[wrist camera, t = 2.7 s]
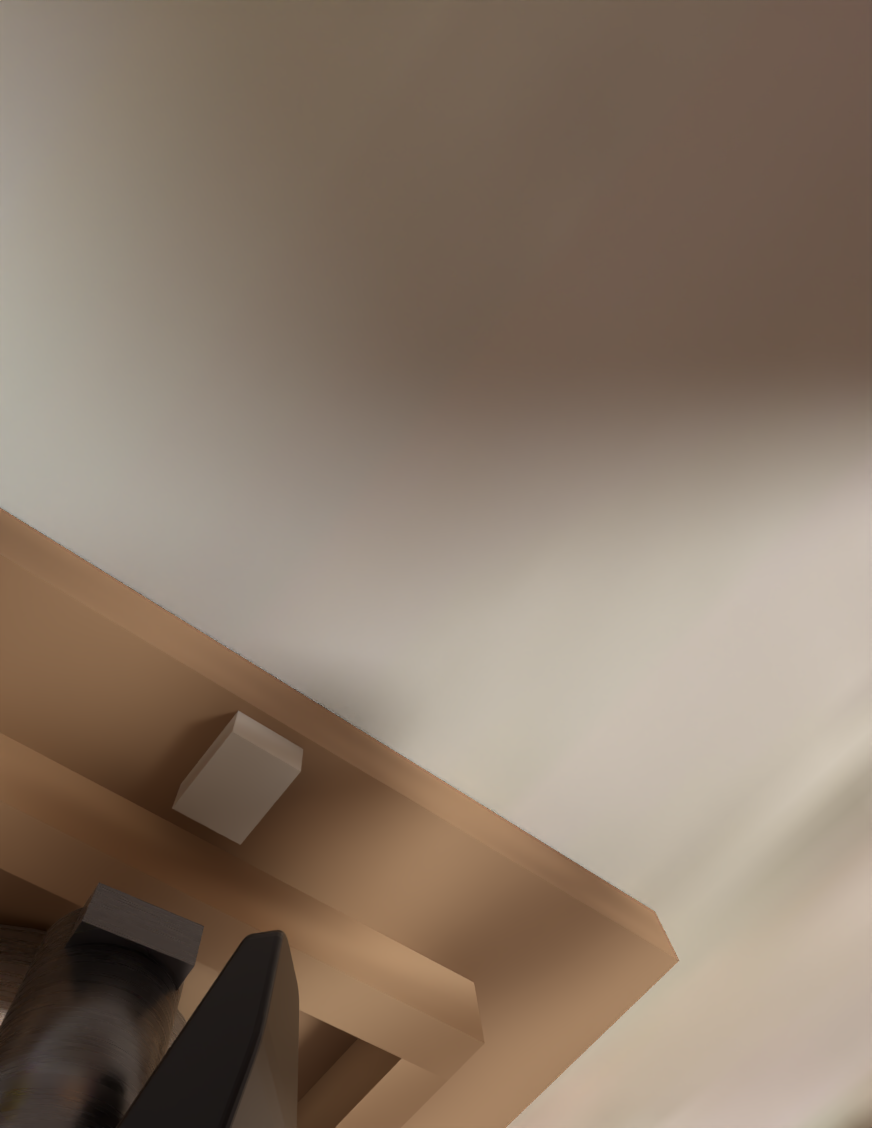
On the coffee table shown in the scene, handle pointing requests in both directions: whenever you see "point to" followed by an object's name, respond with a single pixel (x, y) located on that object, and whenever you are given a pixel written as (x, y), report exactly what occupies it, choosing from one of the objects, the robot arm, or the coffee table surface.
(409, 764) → the board
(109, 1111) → the crank wheel
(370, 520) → the coffee table surface
